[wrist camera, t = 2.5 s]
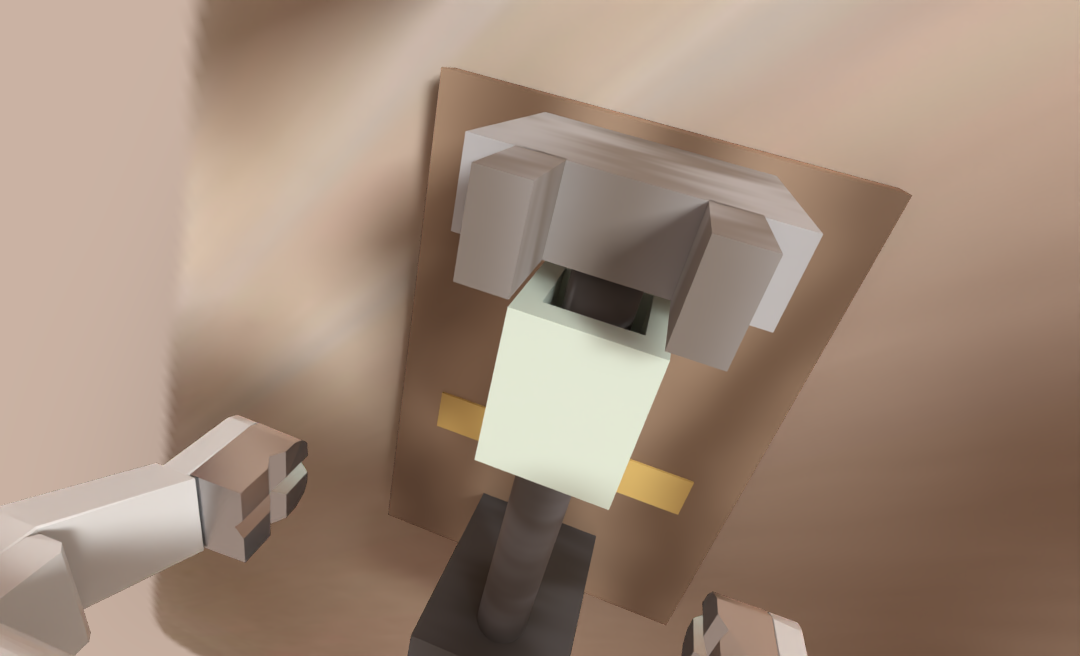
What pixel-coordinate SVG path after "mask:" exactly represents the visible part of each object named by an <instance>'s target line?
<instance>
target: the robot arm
mask: <svg viewBox="0 0 1080 656" xmlns="http://www.w3.org/2000/svg"><path fill="white" fill-rule="evenodd" d="M307 456H308V451H307V443H306V442H305V441H303V440H301V439H298V438H296V437H293V436H291V435H288V434H286V433H283V432H281V431H278V430H276V429H273V428H271V427H268V426H266V425H263V424H261V423H258V422H255V421H253V420H250V419H247V418H245V417H242V416H240V415H234V416H231V417H228V418H226V419H225V420H224V421H222V422H221V423H220V424H218V425H217V426H215V427H214V428H213V429H211V430H210V431H209V432H207V433H206V434H205V435H203V436H202V437H201V438H199V439H198V440H197V441H195V442H194V443H192V444H191V445H190V446H188V447H187V448H186V449H184V450H183V451H182V452H180V453H179V454H178V455H176V456H175V457H173V458H172V459H171V460H169V461H168V462H167V463H165V464H164V465H161V464H158V463H153V464H150V465H146V466H143V467H139V468H135V469H132V470H129V471H125V472H121V473H117V474H114V475H110V476H106V477H103V478H99V479H96V480H92V481H88V482H85V483H81V484H77V485H74V486H70V487H67V488H63V489H59V490H56V491H52V492H49V493H45V494H41V495H38V496H34V497H31V498H27V499H23V500H20V501H16V502H13V503H9V504H5V505H1V506H0V656H74V655H76V654H77V653H78V652H79V651H80V650H81V649H82V648H83V647H84V646H85V645H86V644H87V643H88V642H89V639H90V633H91V632H90V629H89V626H88V622H87V620H86V616H85V613H84V610H83V609H85V608H87V607H89V606H91V605H93V604H95V603H98V602H100V601H101V600H104V599H105V598H108V597H110V596H112V595H114V594H116V593H118V592H120V591H122V590H124V589H126V588H128V587H130V586H132V585H134V584H136V583H138V582H140V581H142V580H144V579H146V578H148V577H151V576H153V575H155V574H157V573H159V572H161V571H163V570H165V569H167V568H169V567H171V566H173V565H175V564H177V563H179V562H181V561H183V560H185V559H187V558H189V557H191V556H193V555H195V554H197V553H199V552H201V551H203V550H204V548H207V549H210V550H212V551H215V552H218V553H220V554H223V555H226V556H229V557H231V558H234V559H237V560H239V561H242V562H246V561H247V560H248V559H249V558H250V557H251V556H252V555H253V554H254V553H255V552H256V550H257V549H258V548H259V547H260V546H261V545H262V544H263V543H264V542H265V541H266V539H267V538H268V537H269V536H270V534H271V523H274V522H276V521H279V520H281V519H284V518H286V517H287V516H288V515H289V514H290V513H291V512H292V510H293V509H294V508H295V507H296V506H297V504H298V502H299V500H300V499H301V497H302V495H303V493H304V491H305V487H306V483H307V471H306V469H305V467H304V466H303V464H302V461H303V460H304V459H305V458H306V457H307ZM702 606H703V615H701V616H698V617H695V618H693V620H692V622H691V623H690V625H689V627H688V629H687V632H686V635H685V639H684V643H683V648H682V656H807V651H806V647H805V642H804V638H803V633H802V629H801V627H800V626H799V624H798V623H797V622H795V621H792V620H790V619H787V618H784V617H781V616H779V615H776V614H773V613H770V612H767V611H766V610H763V609H760V608H758V607H755V606H752V605H749V604H746V603H744V602H741V601H738V600H735V599H732V598H730V597H727V596H724V595H721V594H718V593H716V592H711V593H710V594H708V595H707V597H706V598H705V600H704V601H703V603H702Z"/></svg>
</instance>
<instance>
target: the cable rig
mask: <svg viewBox="0 0 1080 656" xmlns="http://www.w3.org/2000/svg"><path fill="white" fill-rule="evenodd" d="M911 197H912V195H910V194H908V193H907V192H905V191H903V190H901V189H899V188H896V187H892V186H889V185H885V184H881V183H878V182H874V181H870V180H867V179H863V178H859V177H856V176H852V175H848V174H844V173H841V172H837V171H833V170H830V169H826V168H822V167H819V166H815V165H811V164H808V163H804V162H800V161H797V160H793V159H789V158H786V157H782V156H778V155H774V154H771V153H767V152H763V151H760V150H756V149H752V148H749V147H745V146H741V145H738V144H734V143H730V142H727V141H723V140H719V139H715V138H712V137H708V136H704V135H701V134H697V133H693V132H690V131H686V130H682V129H679V128H675V127H671V126H668V125H664V124H660V123H657V122H653V121H649V120H645V119H642V118H638V117H634V116H631V115H627V114H623V113H620V112H616V111H612V110H609V109H605V108H601V107H598V106H594V105H590V104H587V103H583V102H579V101H575V100H572V99H568V98H564V97H561V96H557V95H553V94H550V93H546V92H542V91H539V90H535V89H531V88H528V87H524V86H520V85H517V84H513V83H509V82H505V81H502V80H498V79H494V78H491V77H487V76H483V75H480V74H476V73H472V72H469V71H465V70H461V69H458V68H445V67H441V74H440V83H439V91H438V100H437V108H436V116H435V125H434V133H433V142H432V150H431V159H430V167H429V176H428V184H427V192H426V201H425V209H424V218H423V226H422V235H421V243H420V251H419V260H418V268H417V277H416V285H415V294H414V302H413V310H412V319H411V327H410V336H409V344H408V353H407V361H406V369H405V378H404V386H403V395H402V403H401V412H400V420H399V428H398V437H397V445H396V454H395V462H394V471H393V479H392V487H391V496H390V504H389V513H388V515H391V516H393V517H396V518H398V519H401V520H403V521H406V522H408V523H411V524H413V525H416V526H418V527H421V528H423V529H426V530H428V531H431V532H433V533H436V534H438V535H441V536H443V537H446V538H448V539H451V540H453V541H456V542H458V544H457V546H456V548H455V550H454V552H453V554H452V556H451V558H450V560H449V562H448V564H447V566H446V568H445V570H444V572H443V574H442V576H441V578H440V580H439V582H438V584H437V586H436V588H435V590H434V591H433V593H432V595H431V597H430V599H429V601H428V603H427V605H426V607H425V609H424V611H423V613H422V615H421V617H420V619H419V621H418V623H417V625H416V627H415V629H414V631H413V633H412V635H411V639H410V644H409V650H408V656H570V654H571V650H572V645H573V641H574V636H575V631H576V627H577V622H578V618H579V613H580V608H581V604H582V599H583V595H584V593H586V594H589V595H591V596H594V597H596V598H599V599H601V600H604V601H606V602H609V603H611V604H614V605H616V606H619V607H621V608H624V609H626V610H629V611H631V612H634V613H636V614H639V615H641V616H644V617H646V618H649V619H651V620H654V621H656V622H659V623H661V624H664V625H666V624H667V623H668V621H669V619H670V617H671V616H672V614H673V612H674V610H675V609H676V607H677V605H678V603H679V602H680V600H681V598H682V596H683V595H684V593H685V591H686V589H687V588H688V586H689V584H690V582H691V581H692V579H693V577H694V575H695V574H696V572H697V570H698V568H699V567H700V565H701V563H702V561H703V560H704V558H705V556H706V554H707V553H708V551H709V549H710V547H711V546H712V544H713V542H714V540H715V539H716V537H717V535H718V533H719V532H720V530H721V528H722V526H723V525H724V523H725V521H726V520H727V518H728V516H729V514H730V513H731V511H732V509H733V507H734V506H735V504H736V502H737V500H738V499H739V497H740V495H741V493H742V492H743V490H744V488H745V486H746V485H747V483H748V481H749V479H750V478H751V476H752V474H753V472H754V471H755V469H756V467H757V465H758V464H759V462H760V460H761V458H762V457H763V455H764V453H765V451H766V450H767V448H768V446H769V444H770V443H771V441H772V439H773V437H774V436H775V434H776V432H777V430H778V429H779V427H780V425H781V423H782V422H783V420H784V418H785V417H786V415H787V413H788V411H789V410H790V408H791V406H792V404H793V403H794V401H795V399H796V397H797V396H798V394H799V392H800V390H801V389H802V387H803V385H804V383H805V382H806V380H807V378H808V376H809V375H810V373H811V371H812V369H813V368H814V366H815V364H816V362H817V361H818V359H819V357H820V355H821V354H822V352H823V350H824V348H825V347H826V345H827V343H828V341H829V340H830V338H831V336H832V334H833V333H834V331H835V329H836V327H837V326H838V324H839V322H840V320H841V319H842V317H843V315H844V313H845V312H846V310H847V308H848V307H849V305H850V303H851V301H852V300H853V298H854V296H855V294H856V293H857V291H858V289H859V287H860V286H861V284H862V282H863V280H864V279H865V277H866V275H867V273H868V272H869V270H870V268H871V266H872V265H873V263H874V261H875V259H876V258H877V256H878V254H879V252H880V251H881V249H882V247H883V245H884V244H885V242H886V240H887V238H888V237H889V235H890V233H891V231H892V230H893V228H894V226H895V224H896V223H897V221H898V219H899V217H900V216H901V214H902V212H903V210H904V209H905V207H906V205H907V203H908V202H909V200H910V198H911ZM545 261H548V262H551V263H554V264H557V265H560V266H563V267H567V268H570V269H572V270H571V273H570V277H569V281H568V284H567V288H566V292H565V295H564V299H563V303H562V306H561V308H562V309H565V310H568V311H571V312H574V313H578V314H581V315H584V316H587V317H590V318H593V319H596V320H599V321H602V322H605V323H608V324H611V325H614V326H617V327H620V328H623V329H626V330H631V327H632V324H633V321H634V318H635V315H636V313H637V310H638V307H639V304H640V301H641V299H642V296H643V293H644V292H646V293H649V294H652V295H655V296H658V297H662V298H665V299H668V300H671V303H670V311H669V320H668V329H667V338H666V346H665V351H666V352H669V353H671V356H670V362H669V365H668V367H667V369H666V372H665V374H664V377H663V379H662V382H661V384H660V387H659V389H658V391H657V394H656V396H655V399H654V401H653V404H652V406H651V408H650V411H649V413H648V416H647V418H646V421H645V423H644V426H643V428H642V430H641V433H640V435H639V438H638V440H637V443H636V445H635V448H634V450H633V452H632V455H631V457H630V460H629V462H628V465H627V467H626V469H625V472H624V474H623V477H622V479H621V482H620V484H619V487H618V489H617V491H616V494H615V496H614V499H613V501H612V504H611V506H610V508H609V510H607V509H604V508H602V507H599V506H596V505H594V504H591V503H588V502H586V501H583V500H580V499H578V498H575V497H572V496H570V495H567V494H564V493H562V492H559V491H556V490H554V489H551V488H548V487H546V486H543V485H540V484H538V483H535V482H532V481H530V480H527V479H524V478H522V477H519V476H516V475H514V474H511V473H508V472H506V471H503V470H500V469H498V468H495V467H492V466H490V465H487V464H484V463H482V462H479V461H476V460H474V459H475V455H476V450H477V446H478V441H479V436H480V432H481V427H482V423H483V418H484V413H485V409H486V404H487V400H488V395H489V390H490V386H491V381H492V377H493V372H494V367H495V363H496V358H497V354H498V349H499V344H500V340H501V335H502V331H503V326H504V321H505V317H506V312H507V308H508V306H509V305H510V303H511V302H512V301H513V300H514V299H515V297H516V296H517V295H518V294H519V292H520V291H521V290H522V289H523V288H524V286H525V285H526V284H527V283H528V281H529V280H530V279H531V278H532V277H533V275H534V274H535V273H536V272H537V270H538V269H539V268H540V267H541V266H542V264H543V263H544V262H545Z"/></svg>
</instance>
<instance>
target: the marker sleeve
mask: <svg viewBox="0 0 1080 656" xmlns="http://www.w3.org/2000/svg"><path fill="white" fill-rule="evenodd" d="M571 270H572V269H570V268H567V267H563V266H560V265H557V264H554V263H551V262H548V261H545V262H544V263H543V264H542V266H541V267H540V268H539V269H538V270H537V272H536V273H535V274H534V275H533V277H532V278H531V279H530V280H529V281H528V283H527V284H526V285H525V286H524V288H523V289H522V290H521V291H520V292H519V294H518V295H517V296H516V297H515V299H514V300H513V301H512V302H511V303H510V305H509V306H508V308H507V312H506V317H505V321H504V326H503V331H502V335H501V340H500V344H499V349H498V354H497V358H496V363H495V367H494V372H493V377H492V381H491V386H490V390H489V395H488V400H487V404H486V409H485V413H484V418H483V423H482V427H481V432H480V436H479V441H478V446H477V450H476V455H475V459H474V460H476V461H479V462H482V463H484V464H487V465H490V466H492V467H495V468H498V469H500V470H503V471H506V472H508V473H511V474H514V475H516V476H519V477H522V478H524V479H527V480H530V481H532V482H535V483H538V484H540V485H543V486H546V487H548V488H551V489H554V490H556V491H559V492H562V493H564V494H567V495H570V496H572V497H575V498H578V499H580V500H583V501H586V502H588V503H591V504H594V505H596V506H599V507H602V508H604V509H607V510H609V508H610V506H611V504H612V501H613V499H614V496H615V494H616V491H617V489H618V487H619V484H620V482H621V479H622V477H623V474H624V472H625V469H626V467H627V465H628V462H629V460H630V457H631V455H632V452H633V450H634V448H635V445H636V443H637V440H638V438H639V435H640V433H641V430H642V428H643V426H644V423H645V421H646V418H647V416H648V413H649V411H650V408H651V406H652V404H653V401H654V399H655V396H656V394H657V391H658V389H659V387H660V384H661V382H662V379H663V377H664V374H665V372H666V369H667V367H668V365H669V362H670V356H671V353H669V352H666V351H665V346H666V338H667V329H668V320H669V311H670V303H671V300H668V299H665V298H662V297H658V296H655V295H652V294H649V293H646V292H644V293H643V296H642V299H641V301H640V304H639V307H638V310H637V313H636V315H635V318H634V321H633V324H632V327H631V330H626V329H623V328H620V327H617V326H614V325H611V324H608V323H605V322H602V321H599V320H596V319H593V318H590V317H587V316H584V315H581V314H578V313H574V312H571V311H568V310H565V309H562V308H561V306H562V303H563V299H564V295H565V292H566V288H567V284H568V281H569V277H570V273H571Z"/></svg>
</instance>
